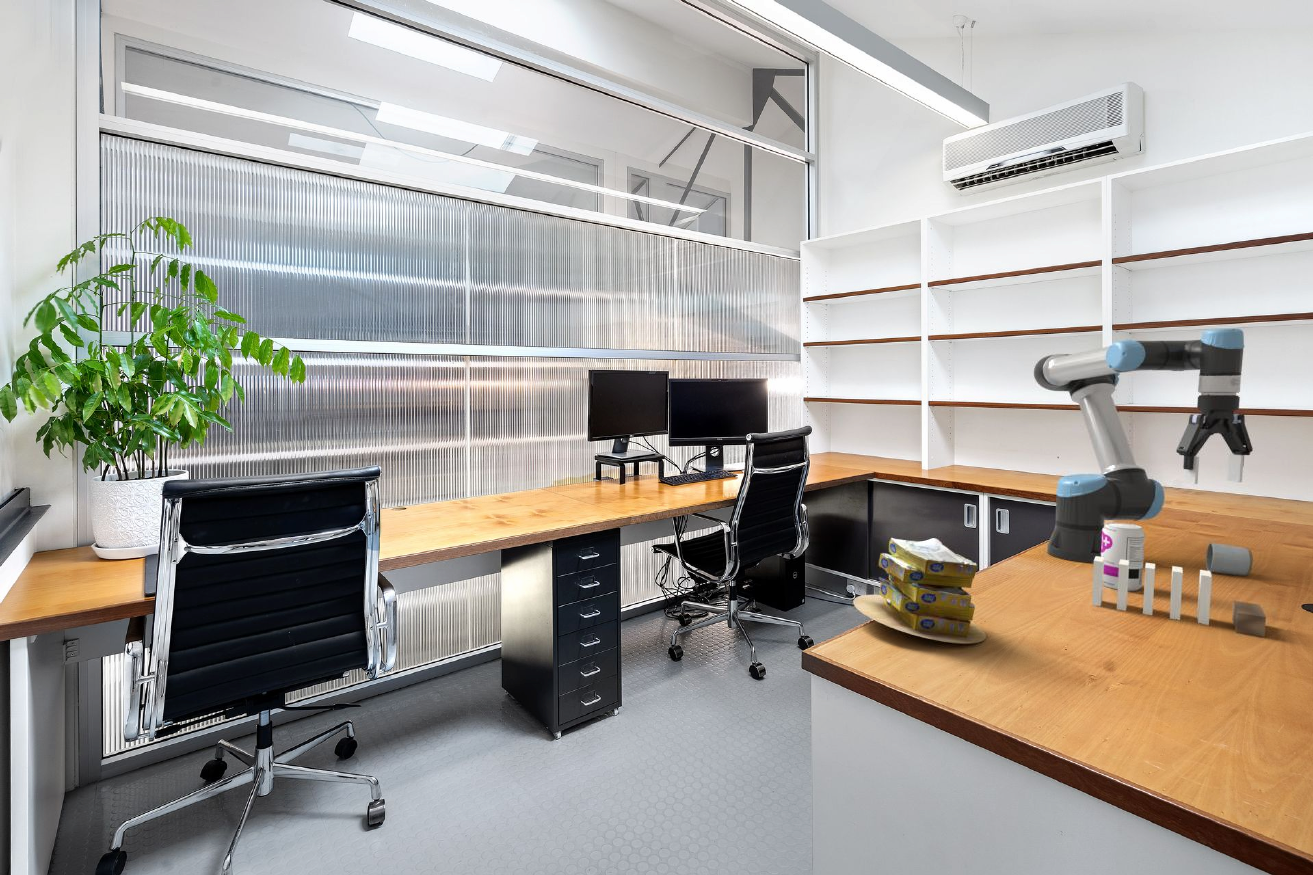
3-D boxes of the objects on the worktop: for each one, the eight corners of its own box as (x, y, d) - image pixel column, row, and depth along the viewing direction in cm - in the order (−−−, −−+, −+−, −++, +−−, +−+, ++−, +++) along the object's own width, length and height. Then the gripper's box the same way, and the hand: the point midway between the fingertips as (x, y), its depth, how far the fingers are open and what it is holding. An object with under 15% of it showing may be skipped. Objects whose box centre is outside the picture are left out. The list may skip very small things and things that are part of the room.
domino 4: (1170, 618, 132) (1172, 571, 131) (1169, 611, 136) (1172, 566, 135) (1179, 620, 131) (1182, 572, 130) (1179, 613, 135) (1182, 567, 134)
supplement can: (1102, 588, 152) (1105, 527, 151) (1097, 579, 159) (1100, 520, 158) (1144, 593, 148) (1148, 530, 147) (1137, 584, 156) (1140, 523, 154)
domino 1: (1091, 604, 140) (1093, 560, 140) (1093, 599, 144) (1095, 556, 144) (1100, 606, 139) (1102, 561, 139) (1102, 600, 143) (1104, 557, 143)
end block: (1236, 632, 124) (1237, 612, 124) (1232, 619, 131) (1233, 600, 131) (1264, 637, 122) (1265, 616, 121) (1258, 623, 129) (1260, 604, 128)
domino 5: (1198, 623, 129) (1201, 575, 129) (1197, 616, 133) (1200, 569, 132) (1208, 625, 128) (1211, 576, 128) (1207, 618, 132) (1210, 571, 131)
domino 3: (1142, 613, 135) (1145, 567, 134) (1143, 607, 139) (1145, 562, 138) (1152, 615, 134) (1154, 568, 133) (1152, 609, 138) (1155, 563, 137)
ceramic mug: (1253, 579, 160) (1255, 549, 159) (1211, 574, 164) (1212, 545, 163) (1241, 570, 169) (1243, 541, 168) (1201, 565, 173) (1203, 537, 172)
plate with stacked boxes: (960, 608, 139) (963, 532, 138) (1007, 654, 114) (1010, 562, 113) (844, 603, 142) (846, 529, 141) (865, 646, 117) (867, 558, 116)
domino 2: (1116, 609, 138) (1119, 563, 137) (1117, 603, 142) (1120, 559, 141) (1125, 610, 137) (1128, 565, 136) (1126, 604, 141) (1129, 560, 140)
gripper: (1193, 394, 145) (1187, 486, 147) (1276, 394, 150) (1269, 482, 152) (1161, 394, 152) (1155, 481, 154) (1241, 393, 158) (1235, 478, 159)
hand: (1212, 482), depth 153 cm, fingers open, 13 cm apart
